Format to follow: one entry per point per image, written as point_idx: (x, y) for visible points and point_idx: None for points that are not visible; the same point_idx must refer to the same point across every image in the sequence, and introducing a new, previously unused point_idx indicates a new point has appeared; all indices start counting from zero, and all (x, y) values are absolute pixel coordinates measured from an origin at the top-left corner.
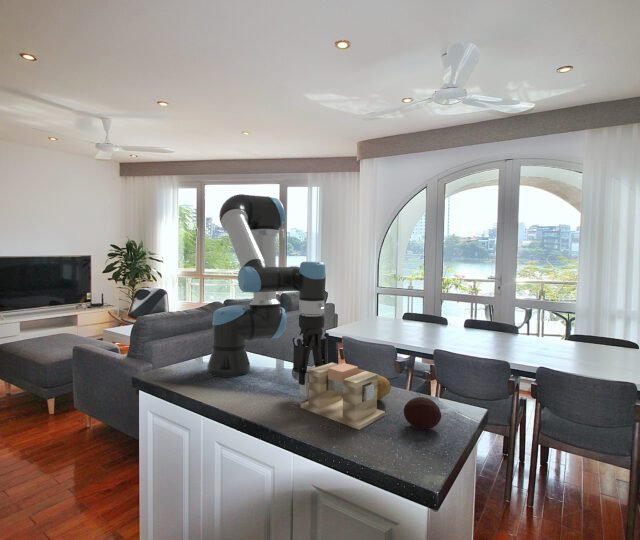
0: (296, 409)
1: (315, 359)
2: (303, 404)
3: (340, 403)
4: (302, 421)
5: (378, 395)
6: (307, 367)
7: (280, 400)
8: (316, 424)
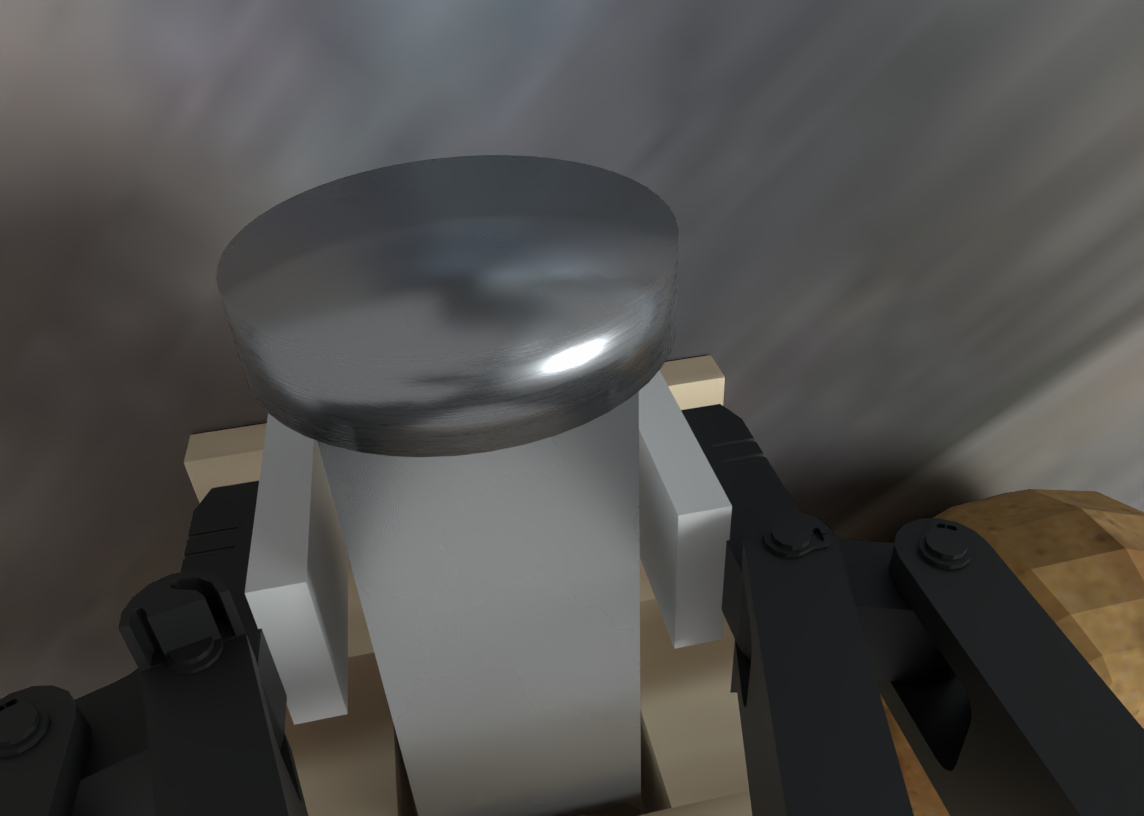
0: (108, 447)
1: (762, 733)
2: (205, 490)
3: None
4: (15, 677)
5: None
6: (537, 552)
7: (32, 60)
8: None
